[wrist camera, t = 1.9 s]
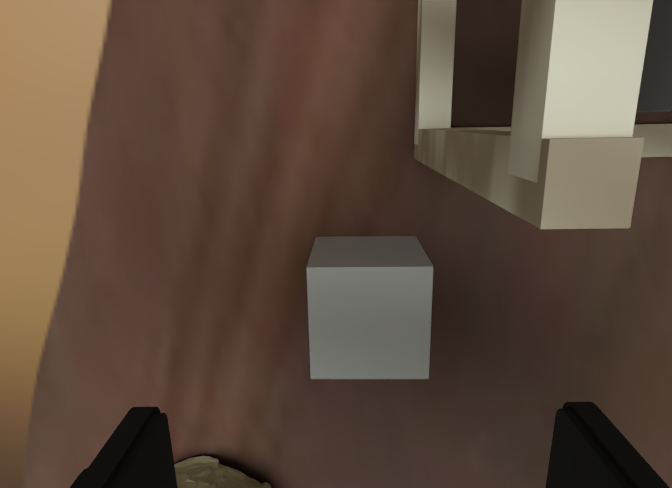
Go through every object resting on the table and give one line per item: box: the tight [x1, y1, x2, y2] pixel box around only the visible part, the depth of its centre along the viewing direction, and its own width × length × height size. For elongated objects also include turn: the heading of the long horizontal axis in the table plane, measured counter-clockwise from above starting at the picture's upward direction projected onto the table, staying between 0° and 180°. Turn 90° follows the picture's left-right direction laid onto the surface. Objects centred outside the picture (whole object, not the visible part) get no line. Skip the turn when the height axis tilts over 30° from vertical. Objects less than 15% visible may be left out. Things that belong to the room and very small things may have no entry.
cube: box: [306, 236, 433, 379], centre depth 20 cm, size 5×5×5 cm
